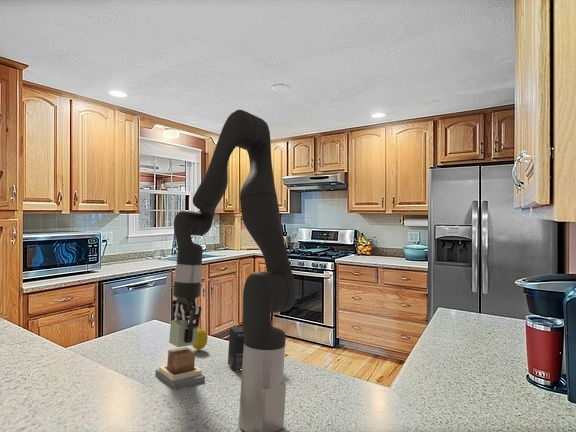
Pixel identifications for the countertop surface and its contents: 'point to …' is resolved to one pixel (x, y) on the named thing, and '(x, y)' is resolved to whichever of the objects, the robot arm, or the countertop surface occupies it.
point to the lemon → (200, 339)
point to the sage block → (180, 334)
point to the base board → (180, 377)
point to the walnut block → (180, 360)
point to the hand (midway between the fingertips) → (182, 339)
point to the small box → (236, 348)
